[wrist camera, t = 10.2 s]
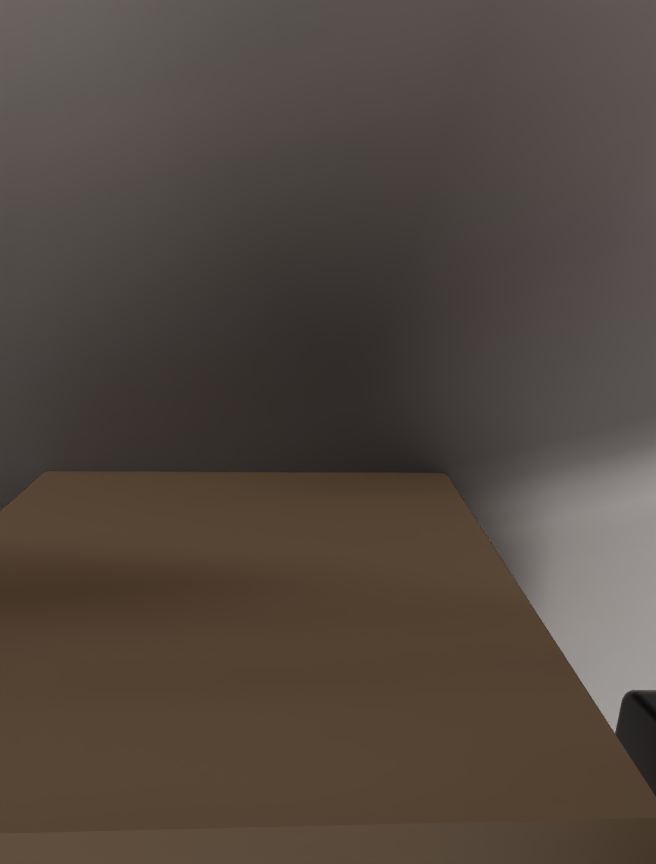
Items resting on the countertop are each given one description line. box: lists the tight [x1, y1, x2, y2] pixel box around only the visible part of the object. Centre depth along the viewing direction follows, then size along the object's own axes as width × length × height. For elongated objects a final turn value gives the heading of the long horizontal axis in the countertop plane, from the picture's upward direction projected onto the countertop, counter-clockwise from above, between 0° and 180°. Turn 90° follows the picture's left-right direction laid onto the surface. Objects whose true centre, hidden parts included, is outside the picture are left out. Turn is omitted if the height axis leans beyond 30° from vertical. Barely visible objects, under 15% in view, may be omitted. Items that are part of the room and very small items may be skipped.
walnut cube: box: [0, 471, 656, 864], centre depth 6 cm, size 5×5×5 cm
